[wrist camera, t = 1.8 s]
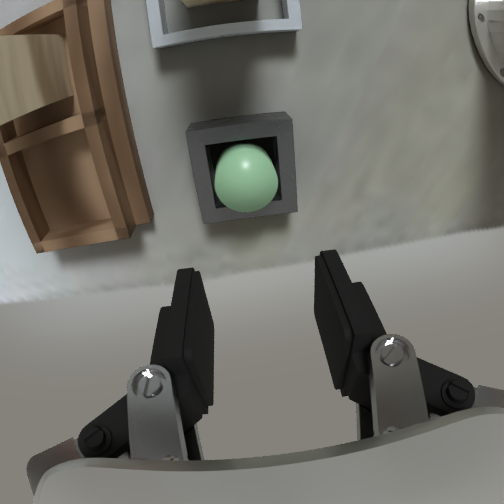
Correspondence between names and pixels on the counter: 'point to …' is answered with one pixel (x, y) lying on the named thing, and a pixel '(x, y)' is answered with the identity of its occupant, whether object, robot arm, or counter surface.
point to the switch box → (235, 130)
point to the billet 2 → (202, 2)
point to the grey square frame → (219, 26)
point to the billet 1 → (32, 73)
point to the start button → (245, 177)
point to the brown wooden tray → (76, 139)
